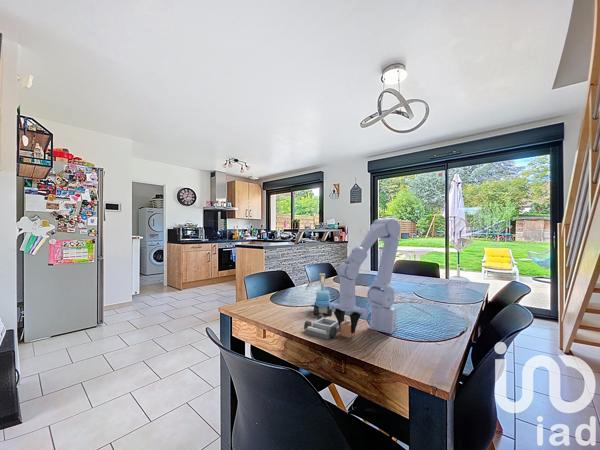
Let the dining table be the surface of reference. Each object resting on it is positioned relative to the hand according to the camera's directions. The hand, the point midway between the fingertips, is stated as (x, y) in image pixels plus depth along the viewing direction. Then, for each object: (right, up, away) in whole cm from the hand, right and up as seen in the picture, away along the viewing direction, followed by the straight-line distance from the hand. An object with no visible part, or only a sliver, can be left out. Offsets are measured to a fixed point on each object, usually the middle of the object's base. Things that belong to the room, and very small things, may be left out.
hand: (347, 331), depth 97 cm
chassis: (-7, -2, +5) cm, 9 cm away
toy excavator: (-7, -2, +29) cm, 30 cm away
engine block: (0, -1, 0) cm, 1 cm away
